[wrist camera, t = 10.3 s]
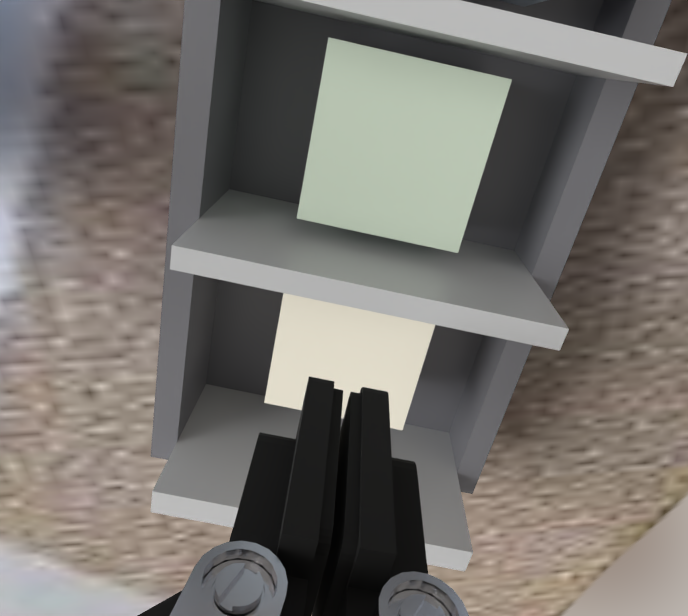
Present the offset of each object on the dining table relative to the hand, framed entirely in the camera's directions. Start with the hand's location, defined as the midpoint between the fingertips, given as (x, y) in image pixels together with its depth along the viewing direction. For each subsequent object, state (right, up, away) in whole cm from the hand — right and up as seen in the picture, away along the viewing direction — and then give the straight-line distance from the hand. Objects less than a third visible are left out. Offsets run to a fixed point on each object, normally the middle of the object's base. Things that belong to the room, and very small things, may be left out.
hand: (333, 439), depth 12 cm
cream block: (+1, +3, +8) cm, 8 cm away
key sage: (+2, +8, +5) cm, 9 cm away
